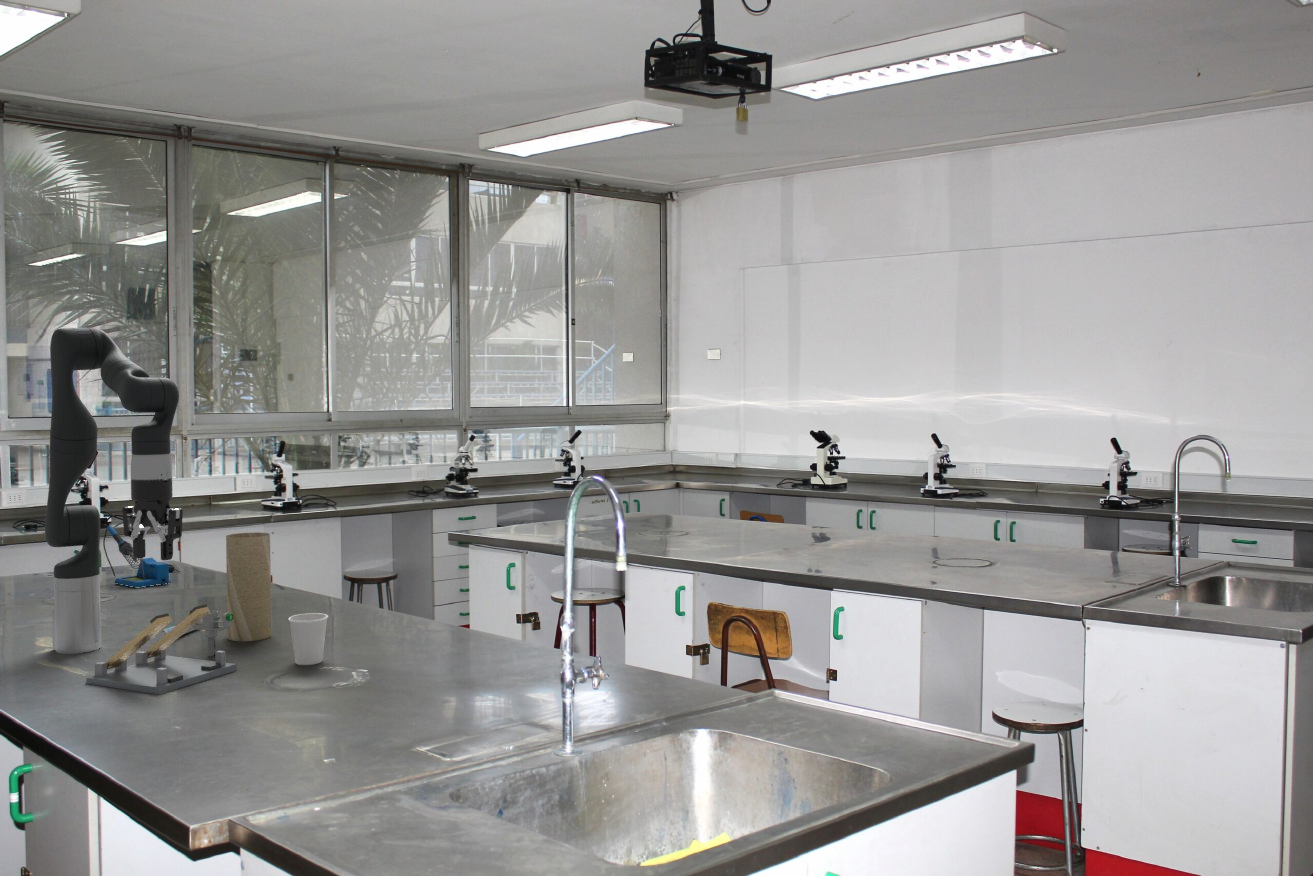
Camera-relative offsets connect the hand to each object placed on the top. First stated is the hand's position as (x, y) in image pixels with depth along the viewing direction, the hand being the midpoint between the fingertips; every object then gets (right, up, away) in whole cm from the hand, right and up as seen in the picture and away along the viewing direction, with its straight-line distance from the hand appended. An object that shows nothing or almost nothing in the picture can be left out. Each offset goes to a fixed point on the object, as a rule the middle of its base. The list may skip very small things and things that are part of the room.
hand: (153, 558), depth 212 cm
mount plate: (-1, -26, +6) cm, 26 cm away
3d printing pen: (-13, -28, +51) cm, 59 cm away
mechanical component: (+1, -25, +25) cm, 35 cm away
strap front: (-4, -18, +2) cm, 19 cm away
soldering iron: (-55, -22, +128) cm, 141 cm away
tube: (+2, -24, +44) cm, 50 cm away
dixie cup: (+25, -25, +20) cm, 41 cm away
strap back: (0, -18, +11) cm, 21 cm away
